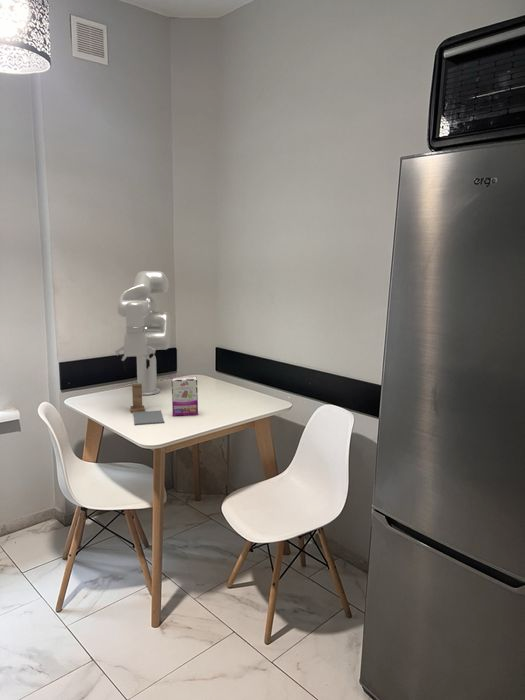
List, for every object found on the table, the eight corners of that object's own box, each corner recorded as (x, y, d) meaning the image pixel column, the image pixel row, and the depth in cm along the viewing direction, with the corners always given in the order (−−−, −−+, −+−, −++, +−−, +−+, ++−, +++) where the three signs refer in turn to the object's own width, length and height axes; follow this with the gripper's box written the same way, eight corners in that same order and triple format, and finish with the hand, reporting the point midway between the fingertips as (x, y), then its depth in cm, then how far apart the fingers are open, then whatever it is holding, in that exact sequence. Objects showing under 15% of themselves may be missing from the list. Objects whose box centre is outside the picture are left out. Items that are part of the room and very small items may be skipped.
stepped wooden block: (130, 409, 231) (129, 383, 229) (144, 408, 233) (143, 382, 231) (131, 413, 226) (130, 386, 223) (144, 412, 227) (144, 386, 225)
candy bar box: (197, 411, 229) (197, 376, 226) (198, 415, 224) (197, 379, 221) (172, 413, 227) (171, 377, 224) (172, 416, 222) (171, 380, 219)
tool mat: (133, 413, 225) (133, 412, 225) (160, 411, 228) (160, 410, 228) (134, 425, 210) (134, 423, 210) (164, 423, 213) (164, 421, 213)
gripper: (154, 328, 228) (155, 366, 231) (114, 329, 224) (115, 367, 226) (155, 331, 221) (156, 369, 224) (114, 332, 216) (115, 371, 219)
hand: (136, 368), depth 225 cm, fingers open, 9 cm apart
